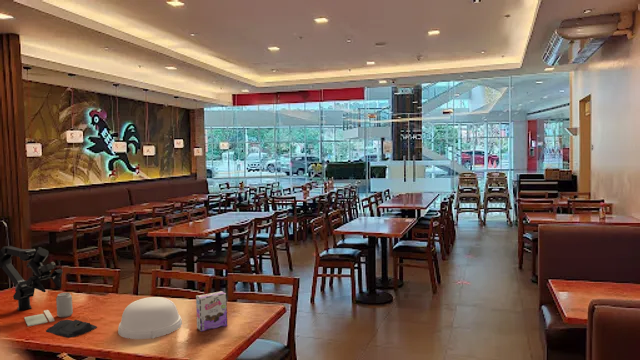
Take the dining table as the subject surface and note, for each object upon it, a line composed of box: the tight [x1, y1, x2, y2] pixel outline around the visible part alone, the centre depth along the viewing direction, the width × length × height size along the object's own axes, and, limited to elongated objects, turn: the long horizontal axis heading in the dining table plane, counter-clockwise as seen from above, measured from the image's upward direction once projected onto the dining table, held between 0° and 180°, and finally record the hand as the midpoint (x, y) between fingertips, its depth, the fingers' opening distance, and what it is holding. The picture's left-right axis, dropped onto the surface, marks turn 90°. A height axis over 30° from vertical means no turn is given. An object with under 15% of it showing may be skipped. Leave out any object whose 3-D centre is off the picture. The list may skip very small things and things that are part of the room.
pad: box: [24, 313, 49, 327], centre depth 255 cm, size 16×9×1 cm, turn 37°
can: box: [55, 292, 74, 318], centre depth 261 cm, size 8×8×12 cm
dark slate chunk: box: [45, 319, 98, 339], centre depth 240 cm, size 15×22×5 cm
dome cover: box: [117, 296, 183, 340], centre depth 240 cm, size 32×30×14 cm
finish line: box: [43, 309, 56, 323], centre depth 261 cm, size 22×2×1 cm, turn 37°
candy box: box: [195, 290, 228, 332], centre depth 238 cm, size 14×6×16 cm, turn 122°
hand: (53, 289), depth 264 cm, fingers open, 9 cm apart
